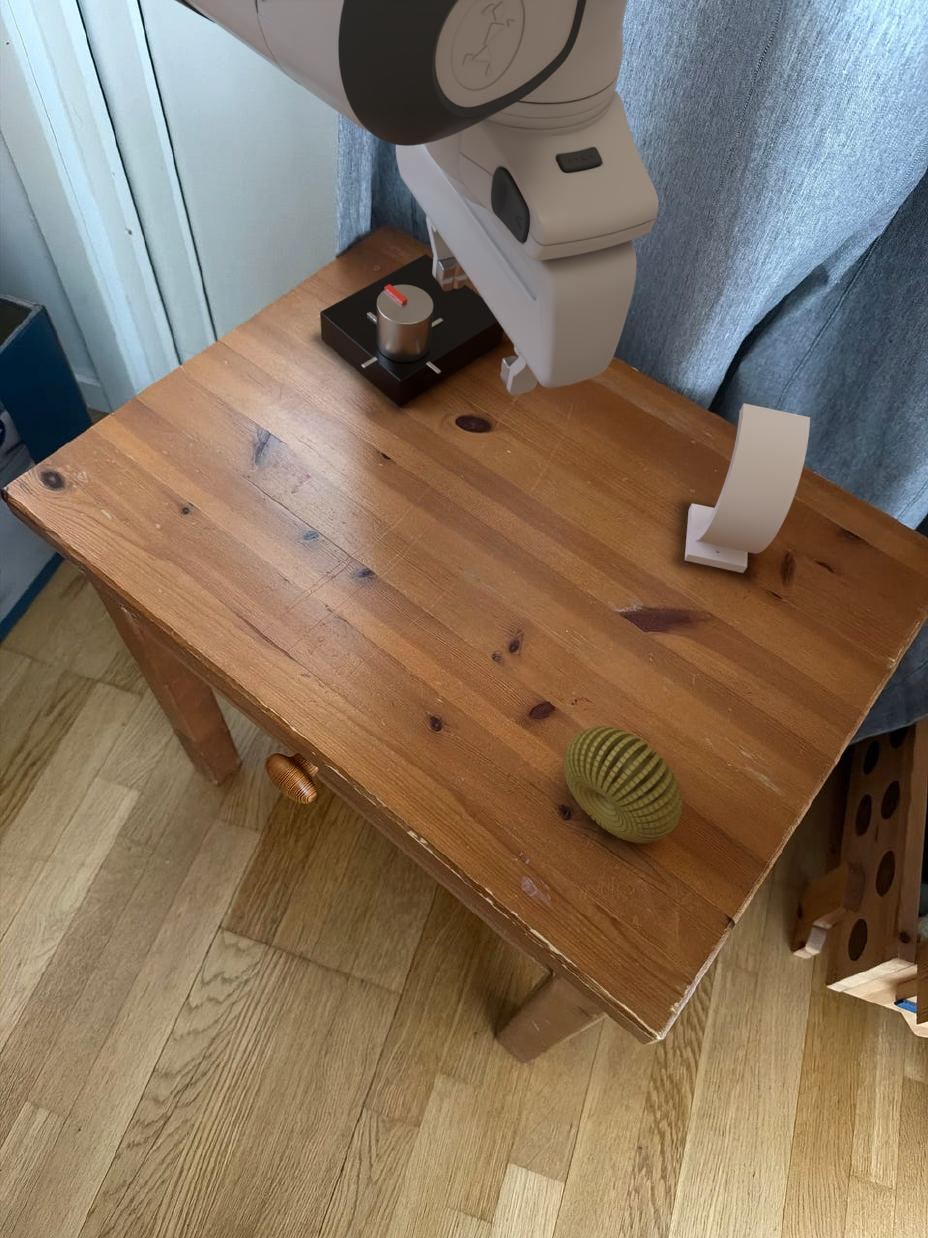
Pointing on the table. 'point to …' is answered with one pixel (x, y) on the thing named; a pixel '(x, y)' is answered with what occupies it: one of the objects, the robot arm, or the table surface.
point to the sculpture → (623, 784)
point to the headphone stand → (751, 490)
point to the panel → (454, 337)
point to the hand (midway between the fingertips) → (481, 332)
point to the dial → (404, 322)
